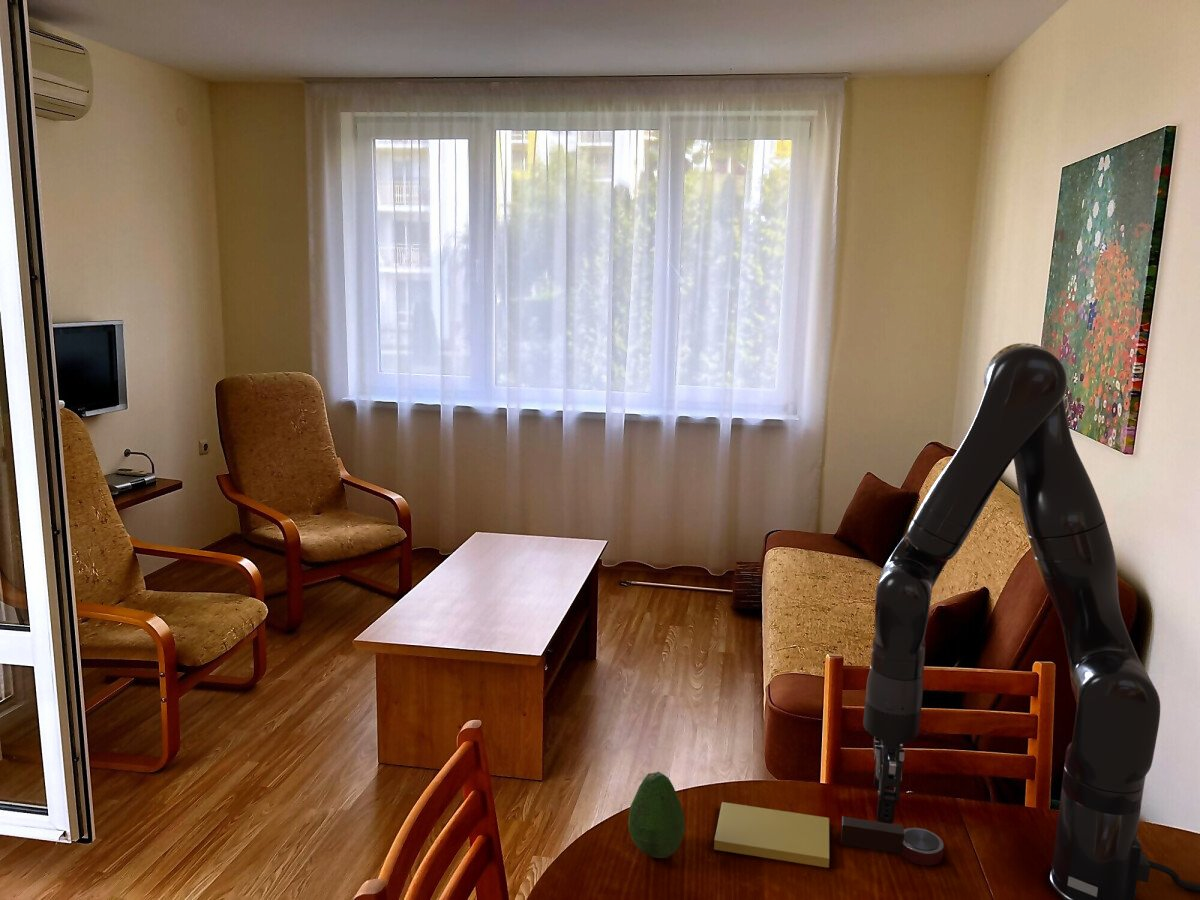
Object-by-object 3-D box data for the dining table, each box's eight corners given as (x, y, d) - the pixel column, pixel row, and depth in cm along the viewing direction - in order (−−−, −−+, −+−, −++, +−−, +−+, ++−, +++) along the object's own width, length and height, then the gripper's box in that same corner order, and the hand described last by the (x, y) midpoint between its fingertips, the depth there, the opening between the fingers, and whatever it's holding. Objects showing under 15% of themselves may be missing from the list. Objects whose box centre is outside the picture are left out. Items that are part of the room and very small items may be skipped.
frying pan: (939, 843, 132) (941, 823, 132) (945, 869, 127) (947, 848, 126) (840, 828, 136) (842, 809, 135) (841, 852, 130) (842, 832, 129)
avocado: (661, 830, 134) (663, 755, 132) (694, 858, 128) (697, 781, 126) (616, 847, 130) (618, 771, 128) (648, 878, 124) (650, 798, 121)
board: (828, 826, 136) (829, 817, 136) (828, 868, 126) (829, 858, 126) (721, 810, 140) (722, 801, 139) (714, 849, 130) (714, 840, 130)
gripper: (927, 727, 119) (915, 838, 123) (916, 681, 133) (906, 782, 136) (867, 719, 121) (857, 829, 124) (863, 675, 135) (854, 774, 138)
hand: (883, 804), depth 130 cm, fingers open, 8 cm apart
